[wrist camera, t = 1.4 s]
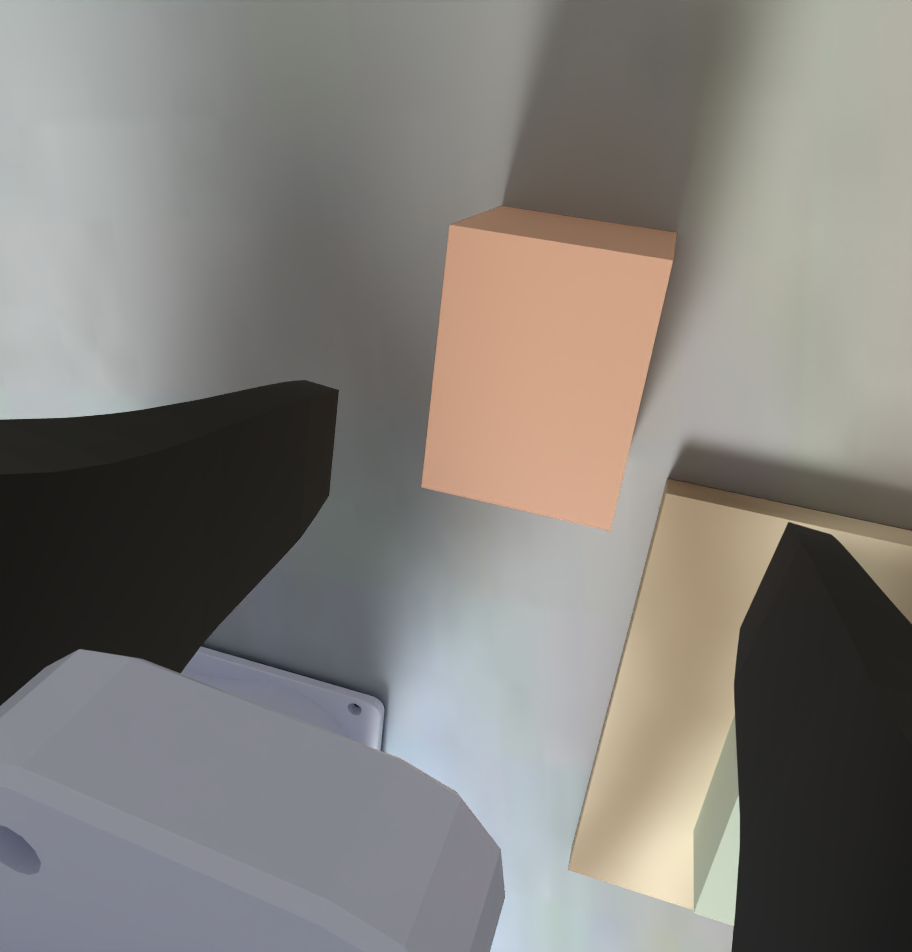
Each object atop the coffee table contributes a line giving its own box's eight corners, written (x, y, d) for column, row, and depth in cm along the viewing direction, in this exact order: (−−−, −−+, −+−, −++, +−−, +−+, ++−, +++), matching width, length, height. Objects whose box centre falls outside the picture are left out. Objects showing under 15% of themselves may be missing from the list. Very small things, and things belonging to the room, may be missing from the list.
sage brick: (693, 830, 25) (693, 913, 22) (763, 631, 22) (774, 700, 19) (960, 911, 23) (995, 1009, 21) (1082, 709, 20) (1142, 797, 17)
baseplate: (571, 847, 28) (567, 869, 27) (667, 478, 22) (666, 493, 21) (1025, 989, 25) (1037, 1019, 24) (1291, 612, 19) (1322, 636, 18)
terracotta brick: (473, 419, 23) (421, 487, 18) (502, 205, 20) (449, 224, 16) (626, 451, 22) (610, 531, 17) (677, 232, 19) (673, 260, 15)
